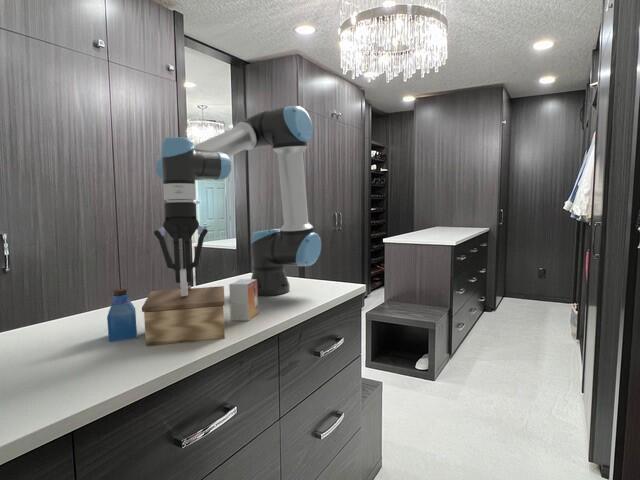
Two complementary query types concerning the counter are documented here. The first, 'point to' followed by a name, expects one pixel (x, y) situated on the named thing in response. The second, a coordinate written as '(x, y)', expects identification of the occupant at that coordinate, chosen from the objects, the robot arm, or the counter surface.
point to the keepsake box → (184, 325)
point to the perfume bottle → (121, 317)
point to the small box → (243, 299)
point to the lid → (184, 299)
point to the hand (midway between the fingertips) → (184, 294)
